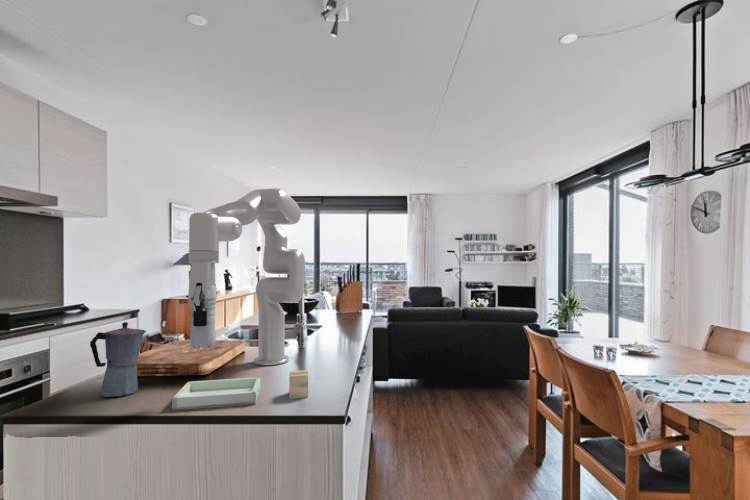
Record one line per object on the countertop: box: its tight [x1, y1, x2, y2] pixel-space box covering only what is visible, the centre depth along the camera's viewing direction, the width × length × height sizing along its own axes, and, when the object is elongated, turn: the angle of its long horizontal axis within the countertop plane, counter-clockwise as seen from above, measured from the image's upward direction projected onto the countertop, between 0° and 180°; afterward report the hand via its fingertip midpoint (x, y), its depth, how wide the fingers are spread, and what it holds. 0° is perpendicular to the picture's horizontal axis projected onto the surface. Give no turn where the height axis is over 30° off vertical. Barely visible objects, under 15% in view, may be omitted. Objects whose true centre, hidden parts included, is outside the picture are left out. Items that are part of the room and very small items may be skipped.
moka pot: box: [89, 321, 147, 398], centre depth 109 cm, size 10×15×20 cm, turn 161°
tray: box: [171, 376, 262, 411], centre depth 104 cm, size 14×20×3 cm
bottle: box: [189, 285, 218, 350], centre depth 104 cm, size 7×7×20 cm
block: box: [288, 369, 309, 399], centre depth 107 cm, size 5×5×6 cm
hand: (203, 323), depth 104 cm, fingers closed on bottle, 5 cm apart
